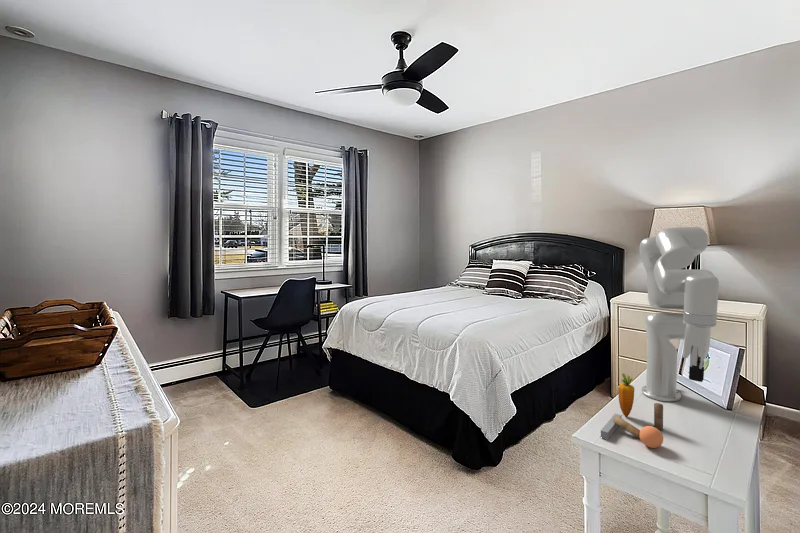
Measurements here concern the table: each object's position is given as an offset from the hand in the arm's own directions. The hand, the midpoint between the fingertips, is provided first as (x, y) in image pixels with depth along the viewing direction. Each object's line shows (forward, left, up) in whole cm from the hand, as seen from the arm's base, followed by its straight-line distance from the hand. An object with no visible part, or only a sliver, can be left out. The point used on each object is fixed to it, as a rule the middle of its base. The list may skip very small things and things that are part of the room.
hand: (696, 379), depth 115 cm
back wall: (+4, -21, -21) cm, 30 cm away
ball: (+7, -9, -18) cm, 21 cm away
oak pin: (+4, -13, -20) cm, 24 cm away
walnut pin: (-6, -10, -21) cm, 24 cm away
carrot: (-8, -20, -21) cm, 30 cm away
